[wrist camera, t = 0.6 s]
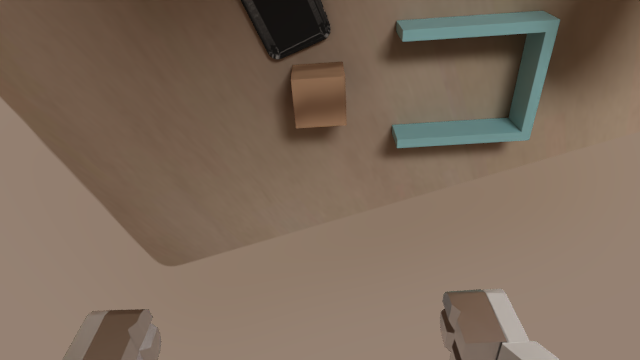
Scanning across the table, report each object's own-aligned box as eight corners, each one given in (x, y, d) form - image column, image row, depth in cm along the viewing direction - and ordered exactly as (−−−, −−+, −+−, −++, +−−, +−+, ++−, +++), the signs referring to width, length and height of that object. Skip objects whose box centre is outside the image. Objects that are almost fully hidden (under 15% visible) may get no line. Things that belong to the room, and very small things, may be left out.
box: (396, 20, 47) (403, 30, 43) (542, 10, 46) (560, 19, 43) (391, 133, 55) (397, 148, 51) (515, 125, 54) (529, 140, 51)
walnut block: (292, 64, 49) (290, 79, 45) (342, 61, 49) (345, 76, 45) (297, 110, 53) (296, 128, 49) (343, 107, 53) (346, 125, 49)
